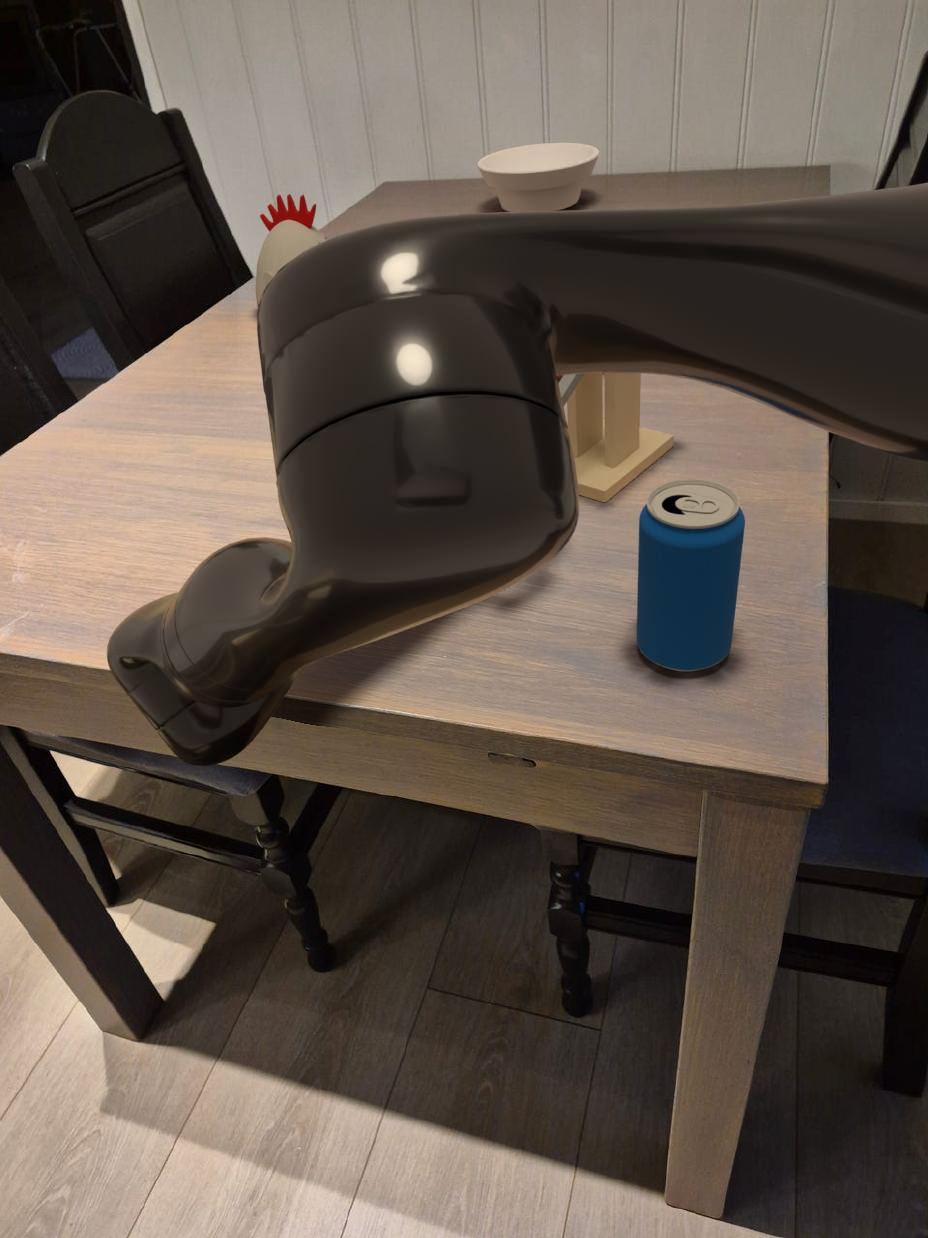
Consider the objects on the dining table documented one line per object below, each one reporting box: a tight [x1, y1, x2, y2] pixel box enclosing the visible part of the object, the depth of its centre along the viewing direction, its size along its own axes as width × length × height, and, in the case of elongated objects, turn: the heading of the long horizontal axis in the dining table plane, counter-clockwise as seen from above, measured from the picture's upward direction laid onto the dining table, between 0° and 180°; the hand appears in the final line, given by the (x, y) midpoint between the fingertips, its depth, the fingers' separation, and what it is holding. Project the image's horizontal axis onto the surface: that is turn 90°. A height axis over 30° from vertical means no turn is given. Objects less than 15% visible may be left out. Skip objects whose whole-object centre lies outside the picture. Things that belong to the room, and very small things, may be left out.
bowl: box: [476, 142, 600, 212], centre depth 155 cm, size 21×21×8 cm
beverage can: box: [636, 478, 746, 673], centre depth 59 cm, size 6×6×12 cm
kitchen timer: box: [255, 193, 329, 308], centre depth 124 cm, size 14×14×15 cm
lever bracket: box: [566, 373, 675, 504], centre depth 79 cm, size 12×8×15 cm, turn 140°
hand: (516, 451), depth 72 cm, fingers open, 8 cm apart
